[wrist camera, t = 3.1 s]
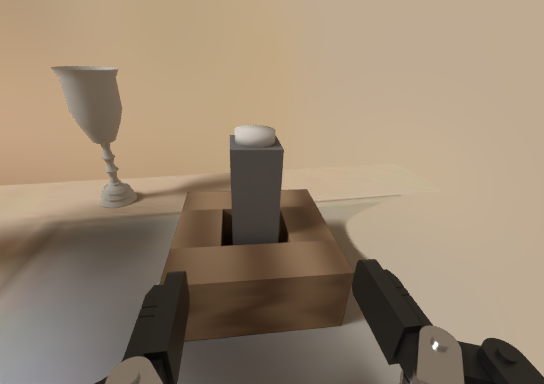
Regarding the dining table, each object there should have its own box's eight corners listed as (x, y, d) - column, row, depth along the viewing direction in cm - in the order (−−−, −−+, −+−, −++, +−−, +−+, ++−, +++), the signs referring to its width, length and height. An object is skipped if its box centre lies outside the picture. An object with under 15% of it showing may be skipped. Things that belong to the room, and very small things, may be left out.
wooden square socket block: (170, 342, 21) (158, 287, 18) (192, 235, 33) (187, 192, 30) (341, 325, 23) (354, 272, 20) (302, 230, 35) (306, 189, 32)
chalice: (146, 205, 39) (119, 70, 31) (91, 216, 36) (45, 69, 28) (141, 185, 44) (117, 67, 36) (93, 193, 41) (55, 65, 33)
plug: (234, 288, 26) (229, 136, 19) (233, 260, 29) (229, 123, 22) (274, 285, 26) (284, 136, 20) (269, 258, 30) (276, 124, 23)
